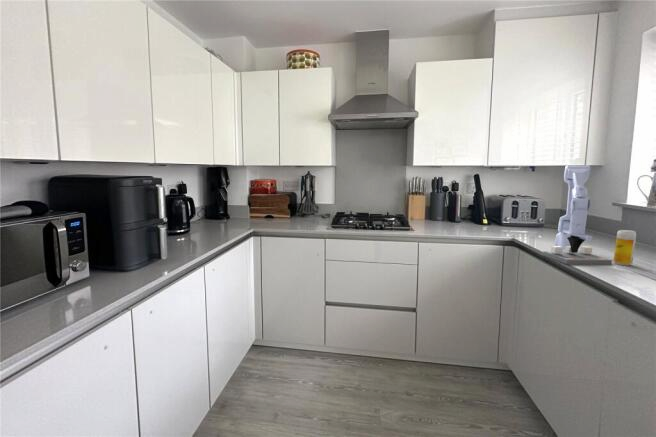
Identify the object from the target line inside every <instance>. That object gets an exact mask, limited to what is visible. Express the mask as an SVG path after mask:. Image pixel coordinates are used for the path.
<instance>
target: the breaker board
mask: <svg viewBox="0 0 656 437" xmlns="http://www.w3.org/2000/svg"><path fill="white" fill-rule="evenodd" d="M542 256H543V257H547V258H549V259H551V260H554V261H557V262H559V263H561V264H565V265H592V266H593V265H597V266H598V265H599V264H601V265H605V266H606V265H608V266H609V265H610V266H611V265H612V264H613V263H612V262H613V260H612V259H609V258H605V257H603V256H600V255H596V254H593V253H592V254H584V253H580V252H577V253H566V252H564V251H562V254H560V253H552V252H551V250H550V251H549V250H547V251H543V253H542Z"/></svg>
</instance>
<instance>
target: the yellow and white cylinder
mask: <svg viewBox="0 0 656 437" xmlns="http://www.w3.org/2000/svg"><path fill="white" fill-rule="evenodd" d="M636 242H637V233H636V231H635V230H630V229H619V230H618V231H617V233H616V239H615V246H614V247H615V248H614V252H613V253H614V255H613V262H614V263H615V265H616V264H617V265H620V266H631V265H632V264H633V262H634V261H633V260H634V253H635V247H636Z"/></svg>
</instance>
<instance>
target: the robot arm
mask: <svg viewBox="0 0 656 437" xmlns="http://www.w3.org/2000/svg"><path fill="white" fill-rule="evenodd" d="M591 168H592V167H591V166H590V164H587V165H566V166H565V168H564V173H563V181H564V183H566V184H567V186H568V191H567V202H566V214H565V215H562V216H560V217H559V221H558V224H557V225H558V227H557V231H558V233H557V234H556V236H555V239H554V246H560V247H563V250H562V252H565V247H566V246H571V252H573V253H577V252H580V247H581V246H582V244H583V243H584V242H585V241H588V242H589V241H592V239H593V236H592V235H589V234H587V233H585V232H586V226H587V218H588V211H590V207H591V199H590V196H588V188H587V187H586V186H585V184H586V183H587V181H588V179H589V177H590V176H591V171H592V170H591Z"/></svg>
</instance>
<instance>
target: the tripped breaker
mask: <svg viewBox="0 0 656 437" xmlns="http://www.w3.org/2000/svg"><path fill="white" fill-rule="evenodd" d="M565 252H566V253H573V252H571V246H566V247H565Z"/></svg>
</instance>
